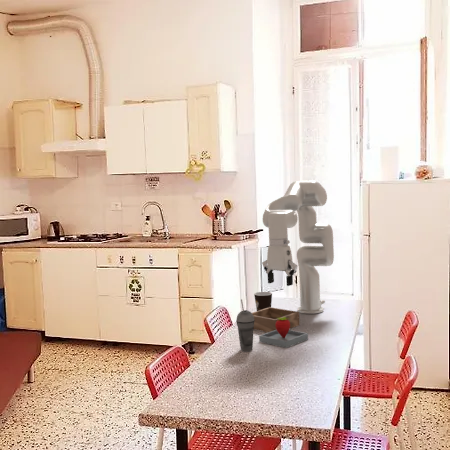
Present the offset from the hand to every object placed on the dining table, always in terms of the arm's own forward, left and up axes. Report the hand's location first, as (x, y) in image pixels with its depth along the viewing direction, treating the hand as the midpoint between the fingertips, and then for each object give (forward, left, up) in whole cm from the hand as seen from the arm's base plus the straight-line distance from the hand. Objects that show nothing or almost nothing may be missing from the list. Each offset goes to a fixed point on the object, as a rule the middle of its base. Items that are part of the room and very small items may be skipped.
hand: (280, 284), depth 242 cm
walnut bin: (-12, -14, -23) cm, 29 cm away
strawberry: (+2, +2, -22) cm, 22 cm away
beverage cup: (+20, -1, -23) cm, 31 cm away
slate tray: (+2, +3, -23) cm, 23 cm away
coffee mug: (-28, -33, -23) cm, 49 cm away
